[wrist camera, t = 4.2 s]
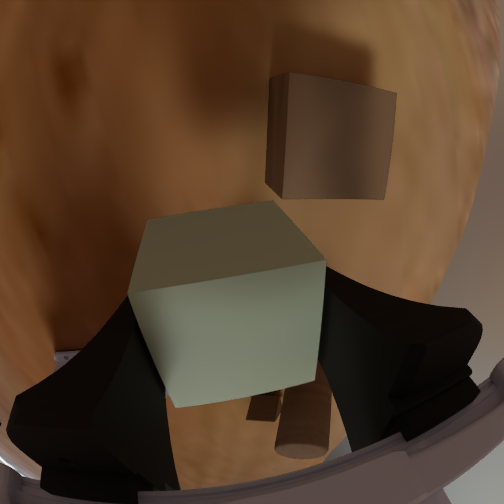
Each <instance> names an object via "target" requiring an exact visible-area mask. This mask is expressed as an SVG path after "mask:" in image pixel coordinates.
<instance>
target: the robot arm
mask: <svg viewBox="0 0 504 504" xmlns="http://www.w3.org/2000/svg"><path fill="white" fill-rule="evenodd" d="M482 330H483V329H482V324H481V323H480V322H479V321H478V320H477V319H476V318H475V317H474V316H473V315H472V314H471V313H470V312H469V311H468V310H467V309H465V308H454V307H443V306H435V305H430V304H424V303H419V302H415V301H410V300H406V299H403V298H399V297H395V296H392V295H389V294H386V293H383V292H381V291H378V290H375V289H372V288H370V287H367V286H365V285H363V284H361V283H358V282H356V281H354V280H352V279H350V278H348V277H346V276H344V275H342V274H340V273H338V272H336V271H334V270H332V269H331V268H329V267H327V266H326V273H325V287H324V300H323V311H322V322H321V332H320V341H319V350H318V358H317V359H318V361H319V363H320V365H321V367H322V369H323V371H324V373H325V376H326V378H327V381H328V383H329V385H330V388H331V391H332V393H333V396H334V399H335V401H336V404H337V407H338V409H339V412H340V415H341V418H342V421H343V424H344V427H345V430H346V433H347V437H348V440H349V444H350V447H351V450H352V453H349V454H347V455H344V456H341V457H338V458H336V459H333V460H330V461H327V462H324V463H321V464H318V465H314V466H311V467H308V468H304V469H301V470H297V471H294V472H290V473H286V474H282V475H278V476H274V477H269V478H265V479H260V480H255V481H250V482H244V483H239V484H232V485H226V486H219V487H211V488H202V489H191V490H181V487H180V484H179V482H178V478H177V473H176V469H175V464H174V458H173V453H172V447H171V441H170V434H169V427H168V418H167V409H166V387H165V385H164V383H163V381H162V379H161V376H160V374H159V372H158V370H157V368H156V365H155V363H154V361H153V358H152V356H151V354H150V351H149V349H148V347H147V344H146V342H145V339H144V337H143V334H142V332H141V329H140V327H139V324H138V322H137V319H136V316H135V314H134V311H133V308H132V305H131V303H130V300H129V297H128V296H127V297H126V298H125V300H124V301H123V302H122V304H121V305H120V306H119V308H118V309H117V310H116V312H115V313H114V314H113V315H112V317H111V318H110V319H109V320H108V322H107V323H106V324H105V325H104V326H103V328H102V329H101V330H100V331H99V332H98V333H97V335H96V336H95V337H94V338H93V339H92V340H91V341H90V342H89V343H88V344H87V345H86V346H85V347H84V348H83V349H82V350H80V351H66V352H55V353H54V359H55V360H56V362H57V365H56V368H55V371H54V373H53V374H51V375H50V376H48V377H47V378H45V379H44V380H42V381H41V382H39V383H38V384H36V385H34V386H33V387H31V388H29V389H28V390H26V391H24V392H22V393H21V394H19V395H17V396H16V398H15V401H14V404H13V407H12V411H11V414H10V417H9V421H8V424H7V428H6V431H7V435H8V437H9V438H10V440H11V441H12V443H13V444H14V445H15V446H16V447H18V448H19V449H20V450H21V451H22V452H23V453H25V454H26V455H27V456H28V457H30V458H31V459H32V460H34V461H35V462H36V463H37V464H39V465H40V466H42V472H41V480H35V479H31V478H27V477H23V476H21V475H20V474H19V473H18V472H17V471H15V470H14V469H12V468H11V467H9V466H7V465H4V464H2V463H0V504H451V502H450V501H449V499H448V497H447V496H446V493H445V492H444V490H443V488H444V487H445V486H447V485H448V484H450V483H451V482H452V481H454V480H455V479H457V478H458V477H459V476H461V475H462V474H464V473H465V472H466V471H467V470H469V469H470V468H471V467H473V466H474V465H475V464H477V463H478V462H479V461H480V460H481V459H483V458H484V457H485V456H486V455H487V454H489V453H490V452H491V451H492V450H493V449H494V448H495V447H496V446H498V445H499V444H500V443H501V442H502V441H503V440H504V358H503V359H502V360H501V361H500V362H499V363H498V364H497V365H496V366H495V368H494V369H493V371H492V372H491V374H490V377H489V378H488V379H486V380H485V381H483V382H482V383H481V384H479V385H478V386H476V384H475V383H474V382H473V380H472V379H471V378H470V377H469V376H470V375H471V374H472V370H471V369H470V367H469V366H468V365H467V364H468V362H469V360H470V359H471V357H472V355H473V353H474V351H475V350H476V348H477V346H478V344H479V341H480V339H481V336H482Z"/></svg>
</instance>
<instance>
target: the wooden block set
mask: <svg viewBox="0 0 504 504" xmlns="http://www.w3.org/2000/svg"><path fill="white" fill-rule="evenodd" d="M331 396H332V391H331V388H330V385H329V383H328V381H327V378H326V376H325V373H324V371H323V369H322V367H321V365H320V363H319V361H318V359H317V366H316V374H315V381H311V382H307V383H304V384H300V385H296V386H292V387H288V388H285V391H284V397H283V403H282V404H281V400H280V396H270V395H253V396H252V397H251V401H250V405H249V409H248V413H247V417H246V420H252V421H266V422H275V421H276V419H277V418H278V416H279V414H280V413H281V415H280V420H279V426H278V431H277V437H276V442H275V451H276V452H277V453H278V454H280V455H282V456H285V457H288V458H294V459H313V458H318V457H322V456H324V455H325V454H326V453H327V451H328V448H329V434H330V418H331Z"/></svg>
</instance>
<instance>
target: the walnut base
mask: <svg viewBox="0 0 504 504" xmlns="http://www.w3.org/2000/svg"><path fill="white" fill-rule="evenodd" d="M396 97H397V93H394V92H391V91H387V90H383V89H379V88H375V87H371V86H367V85H362V84H358V83H353V82H348V81H343V80H338V79H332V78H327V77H321V76H314V75H307V74H300V73H292V72H288V73H285V74H282V75H279V76H276V77H273V78H270V80H269V104H268V128H267V150H266V171H265V183H266V184H267V185H268V186H269V187H270V188H271V189H272V190H273V191H274V192H275V193H276V194H277V195H278V196H279V197H280V198H281V199H374V200H384V198H385V192H386V186H387V180H388V173H389V166H390V159H391V151H392V142H393V133H394V123H395V111H396Z"/></svg>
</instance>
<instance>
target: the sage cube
mask: <svg viewBox="0 0 504 504" xmlns="http://www.w3.org/2000/svg"><path fill="white" fill-rule="evenodd" d="M325 273H326V259H325V258H324V257H323V255H322V254H321V253H320V252H319V251H318V250H317V248H316V247H315V246H314V245H313V244H312V243H311V242H310V241H309V239H308V238H307V237H306V236H305V235H304V234H303V233H302V232H301V230H300V229H299V228H298V227H297V226H296V225H295V224H294V223H293V222H292V220H291V219H290V218H289V217H288V216H287V215H286V214H285V213H284V212H283V211H282V209H281V208H280V207H279V206H278V205H277V204H276V203H275V202H274V201H273V200H272V201H265V202H257V203H250V204H242V205H235V206H228V207H222V208H215V209H208V210H202V211H196V212H189V213H183V214H177V215H171V216H165V217H160V218H154V219H148V220H147V223H146V226H145V230H144V233H143V236H142V240H141V243H140V247H139V250H138V254H137V257H136V261H135V265H134V269H133V272H132V276H131V280H130V284H129V288H128V293H127V294H128V297H129V300H130V303H131V305H132V308H133V311H134V314H135V316H136V319H137V322H138V324H139V327H140V329H141V332H142V334H143V337H144V339H145V342H146V344H147V347H148V349H149V351H150V354H151V356H152V358H153V361H154V363H155V365H156V368H157V370H158V372H159V374H160V376H161V379H162V381H163V383H164V385H165V387H166V389H167V391H168V393H169V395H170V397H171V400H172V402H173V404H174V406H175V408H179V407H187V406H195V405H202V404H209V403H215V402H221V401H227V400H232V399H238V398H243V397H248V396H253V395H258V394H263V393H267V392H272V391H276V390H280V389H284V388H288V387H292V386H296V385H300V384H304V383H307V382H311V381H315V374H316V366H317V358H318V350H319V341H320V332H321V322H322V311H323V300H324V287H325Z"/></svg>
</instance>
